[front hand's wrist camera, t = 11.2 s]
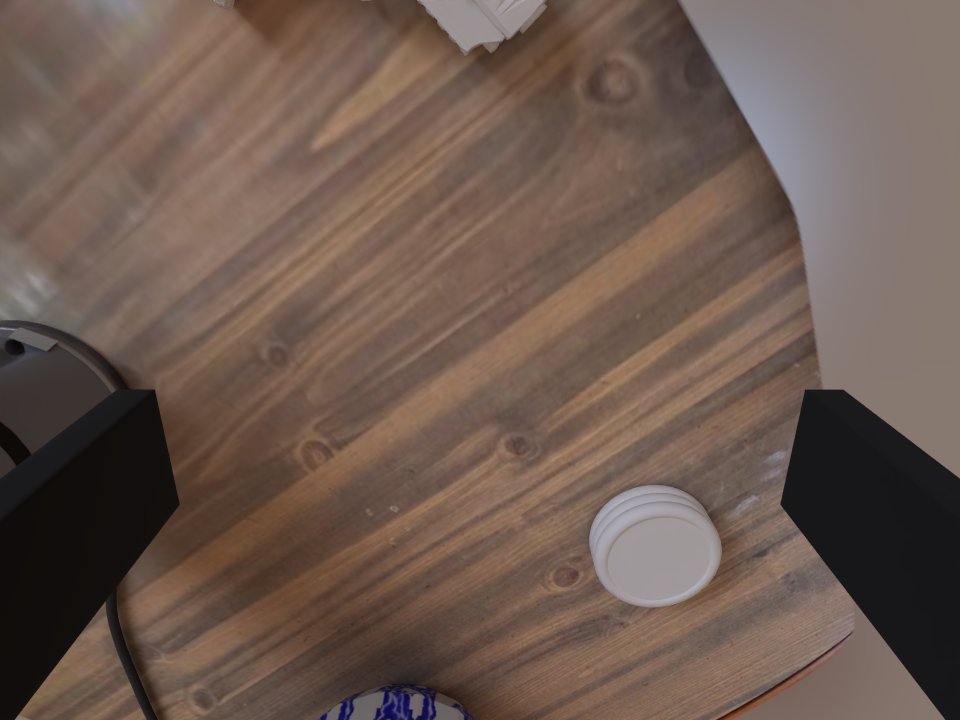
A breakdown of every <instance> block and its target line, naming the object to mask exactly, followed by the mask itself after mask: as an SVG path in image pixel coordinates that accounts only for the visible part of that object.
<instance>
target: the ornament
mask: <svg viewBox="0 0 960 720" xmlns="http://www.w3.org/2000/svg"><path fill="white" fill-rule="evenodd" d="M318 720H476V719H475V718H474V717H473V716H472V715H471V714H470V713H469V712H468V711H467V710H466V709H465V708H464V707H463V706H462V705H461V704H460V703H459V702H458V701H456V700H454V699H452V698H449V697H447V696H445V695H443V694H441V693H438V692H436V691H434V690H432V689H430V688H427V687H425V686H419V685H397V684H385V685H382V686H379V687H376V688H373V689H370V690H367V691H364V692H361V693H357V694H354V695H351V696H349V697H347V698H346V699H345V700H343V701H342V702H340V703H339V704H338V705H336V706H335V707H334V708H332V709H331V710H330V711H328V712H327V713H326V714H324V715H323V716H322V717H320V718H319V719H318Z"/></svg>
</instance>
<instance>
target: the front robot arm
mask: <svg viewBox="0 0 960 720" xmlns="http://www.w3.org/2000/svg"><path fill="white" fill-rule="evenodd" d="M179 505H180V504H179V499H178V495H177V490H176V485H175V481H174V476H173V472H172V467H171V462H170V458H169V453H168V448H167V444H166V439H165V435H164V430H163V425H162V421H161V416H160V411H159V407H158V402H157V398H156V393H155V390H128V389H127V387H126V385H125V384H124V382H123V381H122V379H121V378H120V376H119V375H118V374H117V373H116V371H115V370H114V369H113V368H112V367H111V366H110V365H109V364H108V362H107V361H106V360H104V359H103V358H102V357H101V356H100V355H99V354H98V353H96V352H95V351H94V350H93V349H91V348H90V347H89V346H87V345H86V344H84V343H83V342H81V341H79V340H78V339H76V338H74V337H72V336H70V335H68V334H66V333H64V332H62V331H60V330H57V329H54V328H52V327H49V326H45V325H42V324H38V323H33V322H27V321H18V320H4V321H0V720H15V719H16V717H17V716H18V715H19V713H20V712H21V711H22V709H23V708H24V707H25V706H26V704H27V703H28V702H29V700H30V699H31V698H32V696H33V695H34V694H35V693H36V691H37V690H38V689H39V687H40V686H41V685H42V683H43V682H44V681H45V679H46V678H47V677H48V676H49V674H50V673H51V672H52V670H53V669H54V668H55V666H56V665H57V664H58V663H59V661H60V660H61V659H62V657H63V656H64V655H65V653H66V652H67V651H68V649H69V648H70V647H71V646H72V644H73V643H74V642H75V640H76V639H77V638H78V636H79V635H80V634H81V632H82V631H83V630H84V629H85V627H86V626H87V625H88V623H89V622H90V621H91V619H92V618H93V617H94V616H95V614H96V613H97V612H98V610H99V609H100V608H101V606H102V605H103V604H104V602H105V601H106V611H107V618H108V623H109V627H110V631H111V634H112V638H113V641H114V644H115V647H116V649H117V652H118V655H119V657H120V660H121V662H122V665H123V667H124V669H125V672H126V674H127V676H128V679H129V681H130V683H131V686H132V688H133V690H134V693H135V695H136V697H137V700H138V702H139V704H140V706H141V709H142V711H143V713H144V715H145V717H146V719H147V720H158V719H157V717H156V715H155V713H154V711H153V709H152V706H151V704H150V702H149V700H148V698H147V695H146V693H145V690H144V688H143V686H142V683H141V681H140V678H139V676H138V674H137V671H136V669H135V667H134V664H133V662H132V659H131V657H130V654H129V652H128V649H127V646H126V644H125V641H124V638H123V634H122V631H121V627H120V623H119V619H118V613H117V602H116V587H117V586H118V584H119V583H120V582H121V580H122V579H123V578H124V576H125V575H126V574H127V572H128V571H129V570H130V569H131V567H132V566H133V565H134V563H135V562H136V561H137V559H138V558H139V557H140V556H141V554H142V553H143V552H144V550H145V549H146V548H147V546H148V545H149V544H150V542H151V541H152V540H153V539H154V537H155V536H156V535H157V533H158V532H159V531H160V529H161V528H162V527H163V526H164V524H165V523H166V522H167V520H168V519H169V518H170V516H171V515H172V514H173V512H174V511H175V510H176V509H177V507H178V506H179ZM780 505H781V506H782V507H783V509H784V510H785V511H786V512H787V514H788V515H789V516H790V518H791V519H792V520H793V522H794V523H795V524H796V526H797V527H798V528H799V529H800V531H801V532H802V533H803V535H804V536H805V537H806V539H807V540H808V541H809V542H810V544H811V545H812V546H813V548H814V549H815V550H816V552H817V553H818V554H819V556H820V557H821V558H822V559H823V561H824V562H825V563H826V565H827V566H828V567H829V569H830V570H831V571H832V572H833V574H834V575H835V576H836V578H837V579H838V580H839V582H840V583H841V584H842V586H843V587H844V588H845V589H846V591H847V592H848V593H849V595H850V596H851V597H852V599H853V600H854V601H855V602H856V604H857V605H858V606H859V608H860V609H861V610H862V612H863V613H864V614H865V616H866V617H867V618H868V619H869V621H870V622H871V623H872V625H873V626H874V627H875V629H876V630H877V631H878V632H879V634H880V635H881V636H882V638H883V639H884V640H885V641H886V643H887V644H888V646H889V647H890V648H891V649H892V651H893V652H894V653H895V655H896V656H897V657H898V659H899V660H900V661H901V663H902V664H903V665H904V666H905V668H906V669H907V670H908V672H909V673H910V674H911V676H912V677H913V678H914V679H915V681H916V682H917V683H918V685H919V686H920V687H921V689H922V690H923V691H924V692H925V694H926V695H927V696H928V698H929V699H930V700H931V702H932V703H933V704H934V705H935V707H936V708H937V709H938V711H939V712H940V713H941V715H942V716H943V717H944V719H945V720H960V478H958V477H957V476H956V475H954V474H953V473H952V472H950V471H949V470H948V469H946V468H945V467H944V466H943V465H941V464H940V463H939V462H937V461H936V460H935V459H933V458H932V457H931V456H929V455H928V454H927V453H926V452H924V451H923V450H922V449H920V448H919V447H918V446H916V445H915V444H914V443H912V442H911V441H910V440H908V439H907V438H906V437H905V436H903V435H902V434H901V433H899V432H898V431H897V430H895V429H894V428H893V427H891V426H890V425H889V424H888V423H886V422H885V421H884V420H882V419H881V418H880V417H878V416H877V415H876V414H874V413H873V412H872V411H870V410H869V409H868V408H866V407H865V406H864V405H863V404H861V403H860V402H859V401H857V400H856V399H855V398H853V397H852V396H851V395H849V394H848V393H847V392H846V391H844V390H805V393H804V398H803V402H802V407H801V411H800V416H799V421H798V425H797V430H796V435H795V439H794V444H793V448H792V453H791V458H790V462H789V467H788V472H787V476H786V481H785V485H784V490H783V495H782V499H781V504H780Z"/></svg>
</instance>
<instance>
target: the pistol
mask: <svg viewBox="0 0 960 720" xmlns="http://www.w3.org/2000/svg"><path fill="white" fill-rule="evenodd" d="M213 1H214V2H215V3H216V4H217V5H218V6H219V7H221V8H225V9H228V10H229V9H233V6H234V1H235V0H213ZM360 1H372V0H360ZM417 1H418V2H419V3H420V4H421V5H424V6H425V7H426V11H427V12H428V14H429V15H430V16H431V17H432V18H435V19H436V20H437V21H438V22H437V24H438V25H439V26H440V27H441V29H443V31H444V30H446V32H447V33H448V34H449V36H448V37H449V38H450V39H451V40H452V41H453V42H454V43H457V44H458V45H459V47H460V50H461V52H462V53H463V54H464V55H465V56H467V55H468V54H469V53H470V52H471V51H472V50H473V49H474V48H476V47H478V46H480V45H483V46H484V47H485V48H486V49H487V50H488V51H489V52H490V53H492V52H493V51H495V50H496V49H497V47H498V45H499V43H501V42H502V41H503V40H504V39H506V40H509V39H511V38H512V37H513V36H514V35H515V34H516V33H517V32H518V31H520V32H521V33H524V32H525V31H526V30H527V29H528V28H529V27H530V26H531V25H532V24H533V23H534V22H535V20H536V19H537V18H538V17H539V16H540V15H541V14H542V13H543V11H544V10H545V9H546V8H547V6H546V5H545V2H546V1H547V0H417Z"/></svg>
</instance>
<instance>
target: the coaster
mask: <svg viewBox="0 0 960 720" xmlns="http://www.w3.org/2000/svg"><path fill="white" fill-rule="evenodd" d="M589 546H590V551H591V554H592V559H593V562H594V567H595V570H596V574H597V576H598V578H599V580H600V581H601V583H602V584H603V586H604V587H605V588H606V589H607V590H608V591H609V592H610V593H611V594H612V595H614V596H615V597H617V598H618V599H620V600H622V601H624V602H626V603H629V604H632V605H636V606H641V607H664V606H670V605H673V604H677V603H680V602H682V601H685V600H687V599H689V598H691V597H692V596H694V595H696V594H697V593H698V592H700V591H701V590H702V589H703V588H704V587H705V586H706V585H707V584H708V583H709V582H710V581H711V580H712V578H713V577H714V575H715V574H716V572H717V570H718V568H719V565H720V562H721V556H722V546H721V540H720V537H719V534H718V531H717V530H716V528H715V526H714V525H713V523H712V521H711V519H710V517H709V516H708V514H707V512H706V510H705V509H704V507H703V506H702V505H701V504H700V503H699V502H698V501H697V500H696V499H695V498H694V497H692V496H691V495H689V494H688V493H686V492H684V491H682V490H680V489H677V488H674V487H670V486H664V485H645V486H640V487H636V488H632V489H630V490H627V491H625V492H623V493H621V494H619V495H617V496H616V497H614V498H613V499H611V500H610V501H609V502H608V503H607V504H605V506H604V507H603V508H602V509H601V510H600V511H599V513H598V514H597V516H596V517H595V519H594V521H593V524H592V526H591V531H590V535H589Z"/></svg>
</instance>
